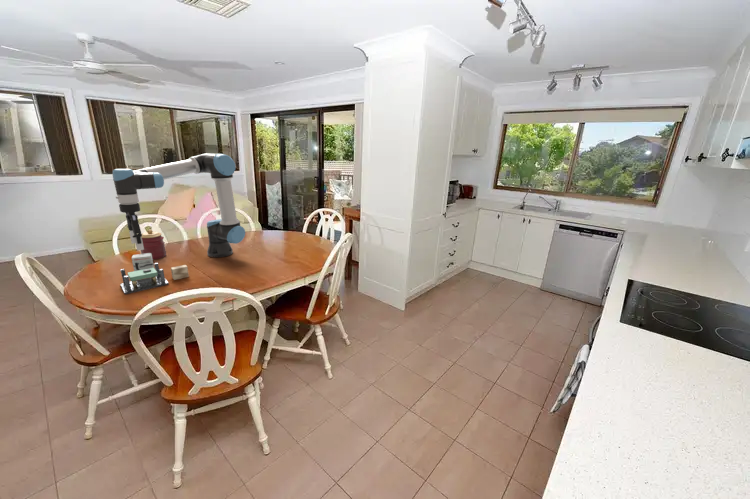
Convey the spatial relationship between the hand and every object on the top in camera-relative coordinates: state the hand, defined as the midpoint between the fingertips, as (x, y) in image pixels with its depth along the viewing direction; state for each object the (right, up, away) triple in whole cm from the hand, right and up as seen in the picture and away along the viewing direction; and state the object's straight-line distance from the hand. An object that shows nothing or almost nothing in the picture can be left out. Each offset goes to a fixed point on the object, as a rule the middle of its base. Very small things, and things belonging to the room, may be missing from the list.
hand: (137, 246), depth 151 cm
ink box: (-9, -16, +17) cm, 25 cm away
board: (-1, -15, +5) cm, 16 cm away
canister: (-24, -6, +45) cm, 51 cm away
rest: (+10, -17, +17) cm, 26 cm away
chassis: (-1, -20, +6) cm, 21 cm away
